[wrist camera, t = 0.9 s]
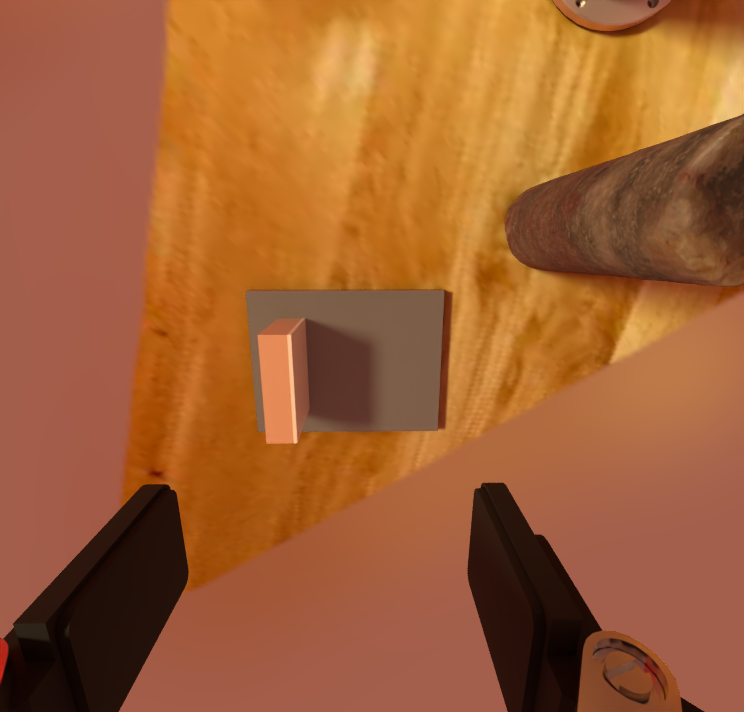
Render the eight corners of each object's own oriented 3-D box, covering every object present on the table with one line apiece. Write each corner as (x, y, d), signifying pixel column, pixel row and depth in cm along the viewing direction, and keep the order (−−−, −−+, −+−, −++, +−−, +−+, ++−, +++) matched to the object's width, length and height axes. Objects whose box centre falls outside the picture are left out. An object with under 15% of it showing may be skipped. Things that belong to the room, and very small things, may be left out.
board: (442, 289, 36) (444, 290, 35) (435, 426, 40) (437, 430, 39) (248, 289, 36) (245, 291, 35) (260, 427, 40) (258, 432, 39)
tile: (305, 318, 36) (291, 334, 29) (309, 408, 38) (297, 443, 32) (278, 318, 36) (257, 334, 29) (284, 408, 38) (266, 443, 32)
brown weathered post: (594, 184, 34) (890, 104, 15) (580, 270, 36) (825, 297, 17) (507, 181, 34) (693, 96, 15) (498, 267, 36) (650, 292, 17)
